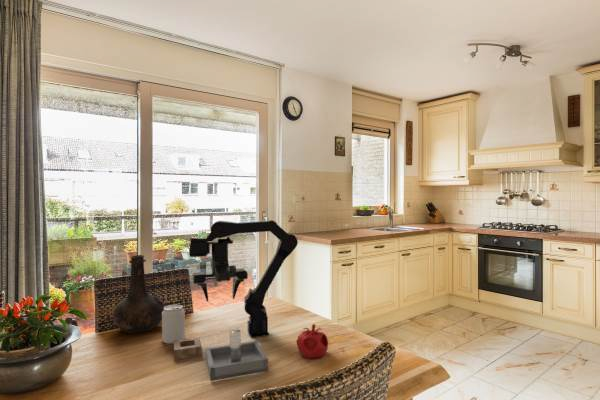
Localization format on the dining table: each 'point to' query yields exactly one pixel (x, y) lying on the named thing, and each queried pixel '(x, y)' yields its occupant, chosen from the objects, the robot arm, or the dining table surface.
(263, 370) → the tray
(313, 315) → the dining table surface
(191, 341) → the socket block
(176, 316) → the can
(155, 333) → the dining table surface
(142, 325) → the brown vase
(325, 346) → the pomegranate
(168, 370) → the dining table surface
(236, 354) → the pin
